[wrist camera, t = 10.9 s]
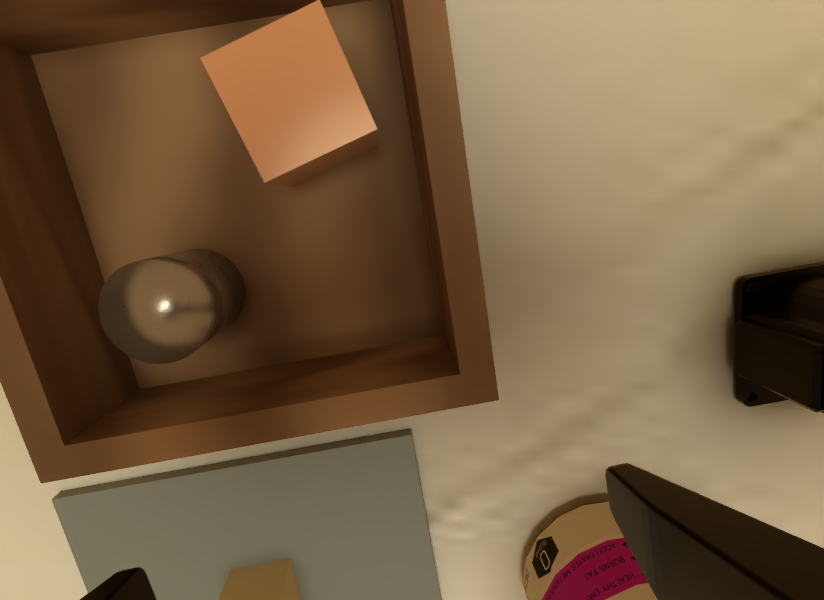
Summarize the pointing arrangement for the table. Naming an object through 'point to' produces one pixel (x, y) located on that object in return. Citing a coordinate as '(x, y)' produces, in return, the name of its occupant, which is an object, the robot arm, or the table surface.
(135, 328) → the grey metal cylinder
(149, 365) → the box
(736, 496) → the table surface
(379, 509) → the lid
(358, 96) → the terracotta cube
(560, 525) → the supplement can
